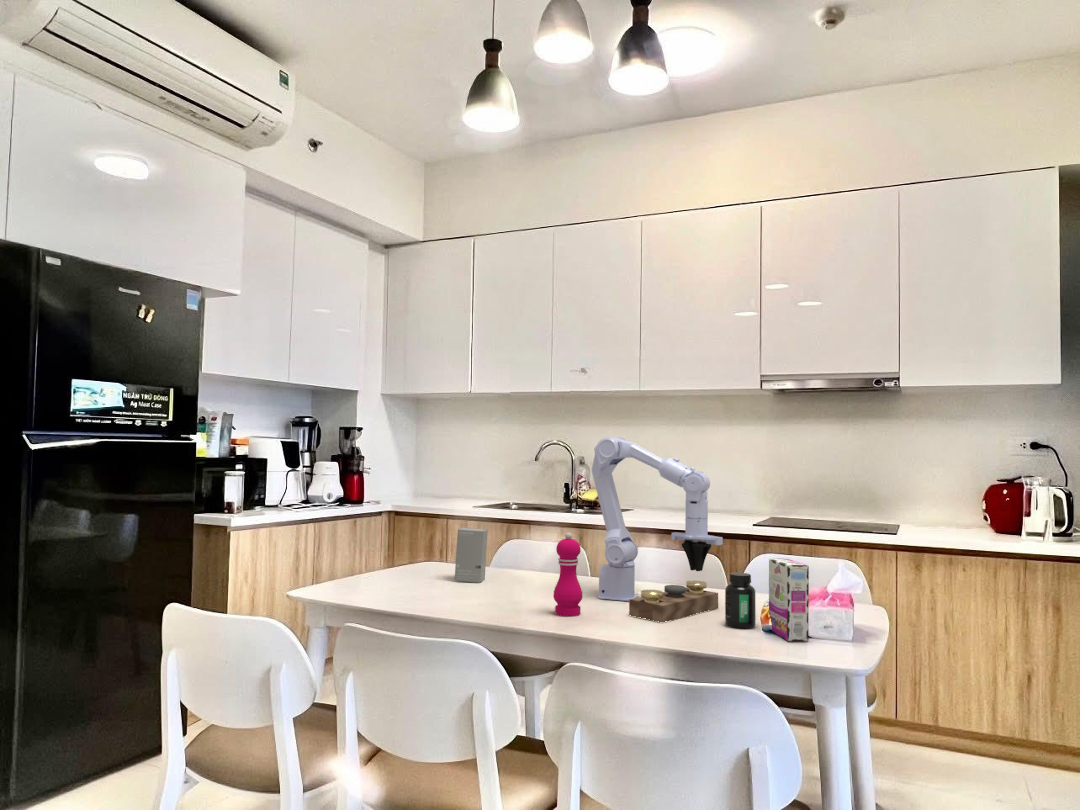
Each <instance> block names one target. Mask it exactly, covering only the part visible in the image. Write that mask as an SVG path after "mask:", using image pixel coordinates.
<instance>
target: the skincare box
mask: <svg viewBox="0 0 1080 810" xmlns="http://www.w3.org/2000/svg"><path fill="white" fill-rule="evenodd" d="M488 532H489V531H488V529H484V528H470V527H469V528H468V527H461V528H458V529H457V535H456V536H457V538H456V550H455V551H456V553H455V566H454V567H455V569H454V582H456V583H477V584H479V583H481V582H484V581H485V580H486V565H487V548H488V546H487V545H488Z"/></svg>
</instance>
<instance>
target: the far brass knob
mask: <svg viewBox="0 0 1080 810" xmlns="http://www.w3.org/2000/svg"><path fill="white" fill-rule="evenodd" d="M685 583H686V584H685V585H686V586H685V587H687V588H689V592H693V593H698V594H699V593H703V590H704V589H707V587H708V585H707V581H704V580H703V581H701V580H687V581H686V582H685Z"/></svg>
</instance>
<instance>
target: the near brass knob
mask: <svg viewBox="0 0 1080 810" xmlns="http://www.w3.org/2000/svg"><path fill="white" fill-rule="evenodd" d="M663 592H664V591H662V590H659V589H643V590H641V591H640V597H643V598H644V602H647V603H652V604H655V603H659V598H662V597H663Z"/></svg>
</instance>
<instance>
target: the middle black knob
mask: <svg viewBox="0 0 1080 810" xmlns="http://www.w3.org/2000/svg"><path fill="white" fill-rule="evenodd" d="M685 587H686V586H684V585H679V584H666V585H664V587H663V588H664V589H663V590H664V591H663V592H667V593H668V597H672V598H681V597H682V593H685Z"/></svg>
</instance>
